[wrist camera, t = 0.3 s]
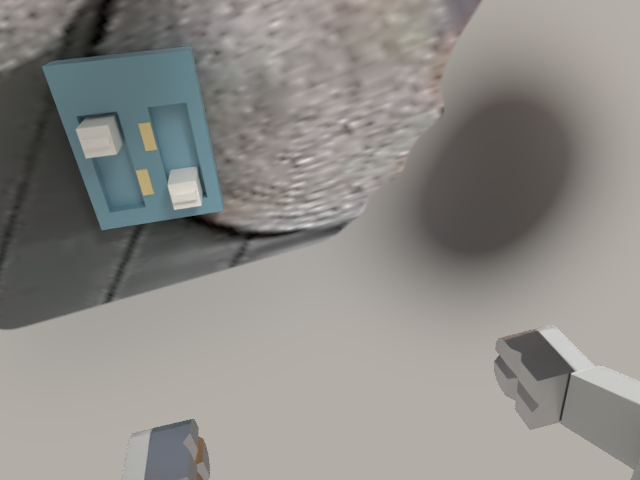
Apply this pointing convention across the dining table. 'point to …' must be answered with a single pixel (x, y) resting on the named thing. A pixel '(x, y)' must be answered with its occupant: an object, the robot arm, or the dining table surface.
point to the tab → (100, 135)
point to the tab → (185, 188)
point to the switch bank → (138, 131)
